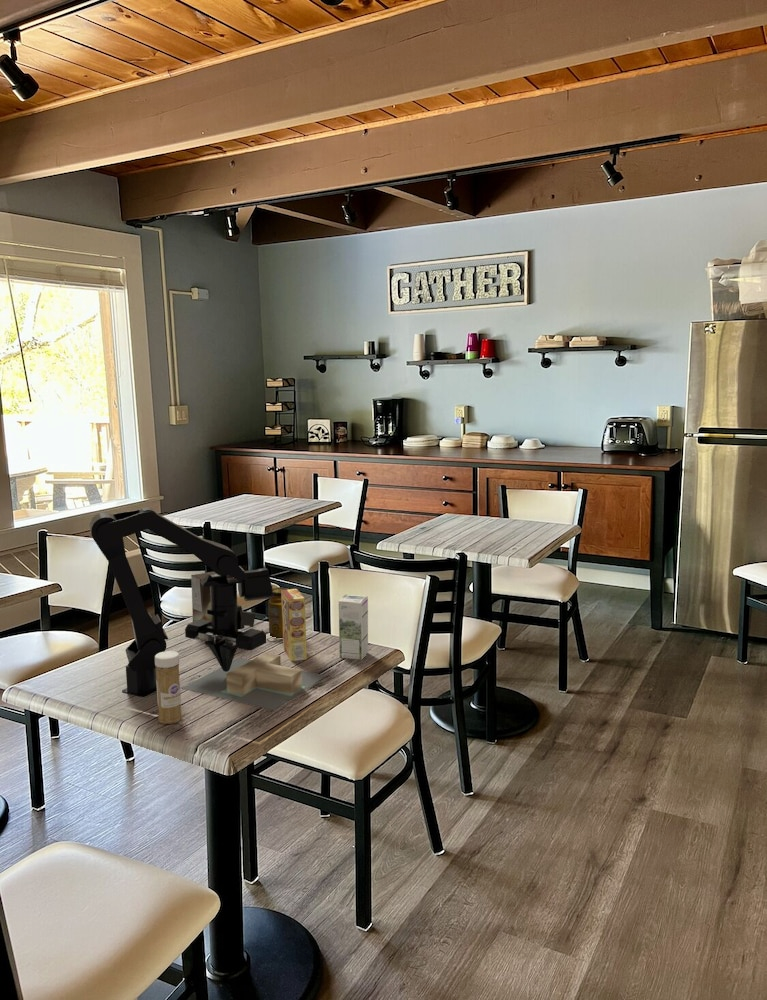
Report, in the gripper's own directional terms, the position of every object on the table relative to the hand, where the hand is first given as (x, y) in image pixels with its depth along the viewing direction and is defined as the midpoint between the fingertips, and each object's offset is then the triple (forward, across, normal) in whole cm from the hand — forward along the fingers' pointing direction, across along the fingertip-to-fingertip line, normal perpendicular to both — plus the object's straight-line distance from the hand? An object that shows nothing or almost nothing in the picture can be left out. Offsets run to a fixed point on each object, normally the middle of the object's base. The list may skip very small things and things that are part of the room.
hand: (226, 671), depth 173 cm
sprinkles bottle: (+2, -4, +22) cm, 22 cm away
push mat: (+2, -8, 0) cm, 8 cm away
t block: (+1, -12, 0) cm, 12 cm away
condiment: (+2, +6, -28) cm, 29 cm away
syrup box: (+2, -19, -24) cm, 31 cm away
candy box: (+2, -6, -18) cm, 19 cm away
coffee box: (+2, +21, -21) cm, 30 cm away
